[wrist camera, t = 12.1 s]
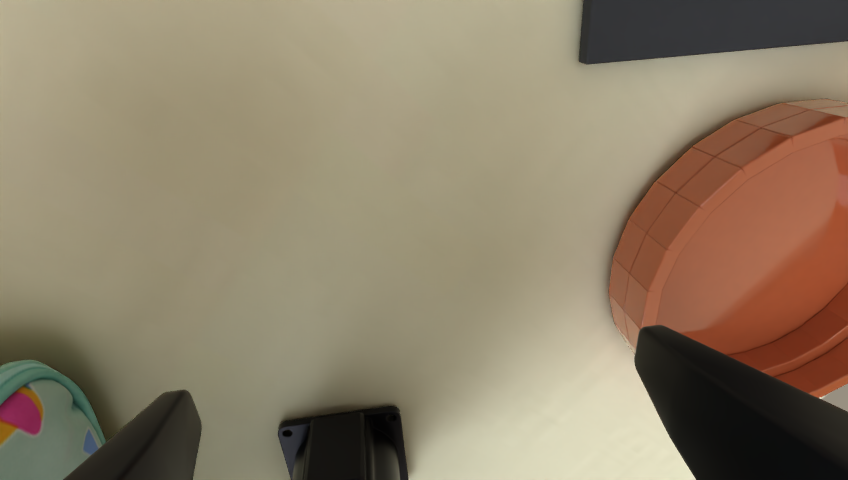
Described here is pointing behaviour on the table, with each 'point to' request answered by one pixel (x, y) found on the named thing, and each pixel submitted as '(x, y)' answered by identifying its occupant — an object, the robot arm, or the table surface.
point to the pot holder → (704, 27)
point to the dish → (749, 246)
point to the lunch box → (43, 423)
